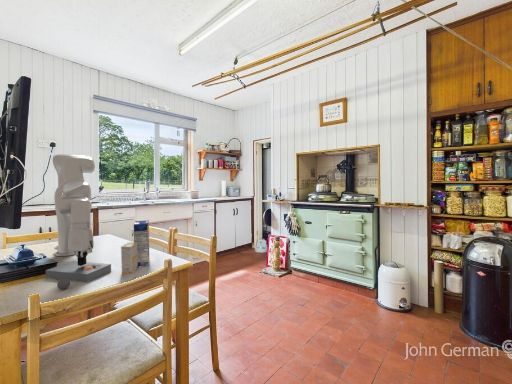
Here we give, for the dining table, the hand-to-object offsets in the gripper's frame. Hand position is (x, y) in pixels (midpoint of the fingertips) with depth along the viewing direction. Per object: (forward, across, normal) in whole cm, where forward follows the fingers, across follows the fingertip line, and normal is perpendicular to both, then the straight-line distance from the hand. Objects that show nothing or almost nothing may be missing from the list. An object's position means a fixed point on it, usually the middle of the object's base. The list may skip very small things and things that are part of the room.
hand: (82, 264), depth 123 cm
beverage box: (+5, +16, +21) cm, 27 cm away
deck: (+5, -2, 0) cm, 5 cm away
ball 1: (+3, +6, -15) cm, 17 cm away
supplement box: (+5, +18, +10) cm, 21 cm away
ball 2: (+3, +4, 0) cm, 4 cm away
